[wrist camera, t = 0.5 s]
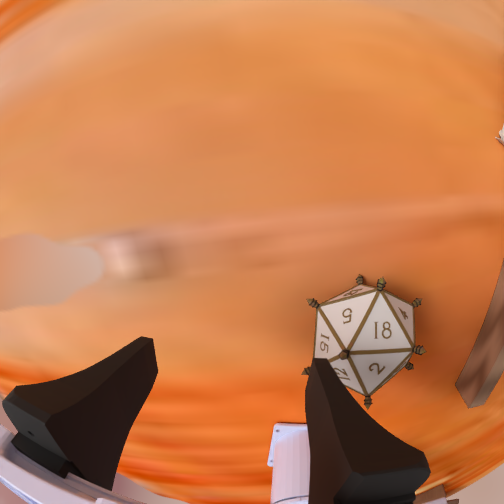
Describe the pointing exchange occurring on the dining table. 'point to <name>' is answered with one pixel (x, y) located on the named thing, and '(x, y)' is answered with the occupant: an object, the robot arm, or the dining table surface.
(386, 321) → the game die
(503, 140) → the newspaper
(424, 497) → the grey angled block
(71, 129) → the dining table surface
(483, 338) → the batten
